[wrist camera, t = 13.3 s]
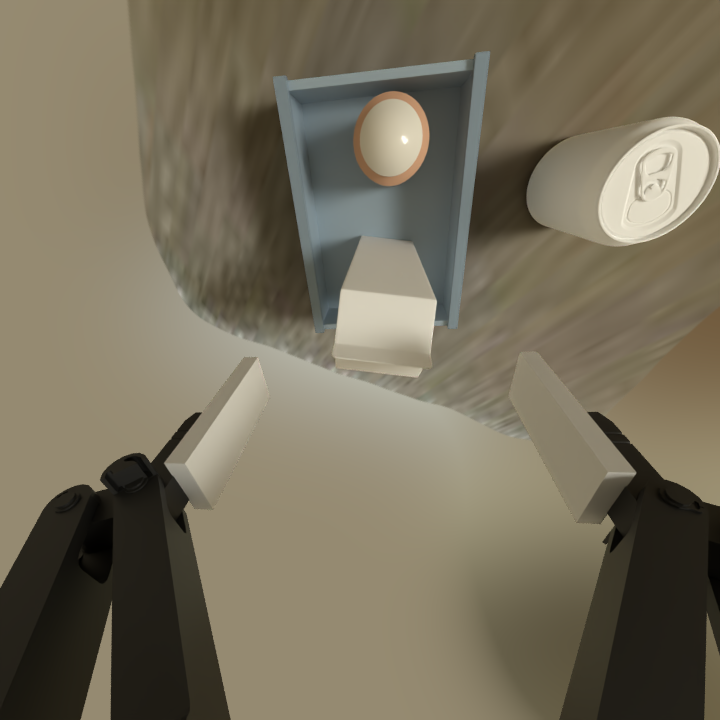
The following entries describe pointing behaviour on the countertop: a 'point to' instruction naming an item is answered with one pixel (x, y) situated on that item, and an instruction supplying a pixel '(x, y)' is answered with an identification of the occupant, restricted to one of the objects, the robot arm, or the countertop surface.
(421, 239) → the tote
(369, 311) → the milk
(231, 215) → the countertop surface
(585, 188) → the beverage can
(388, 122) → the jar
